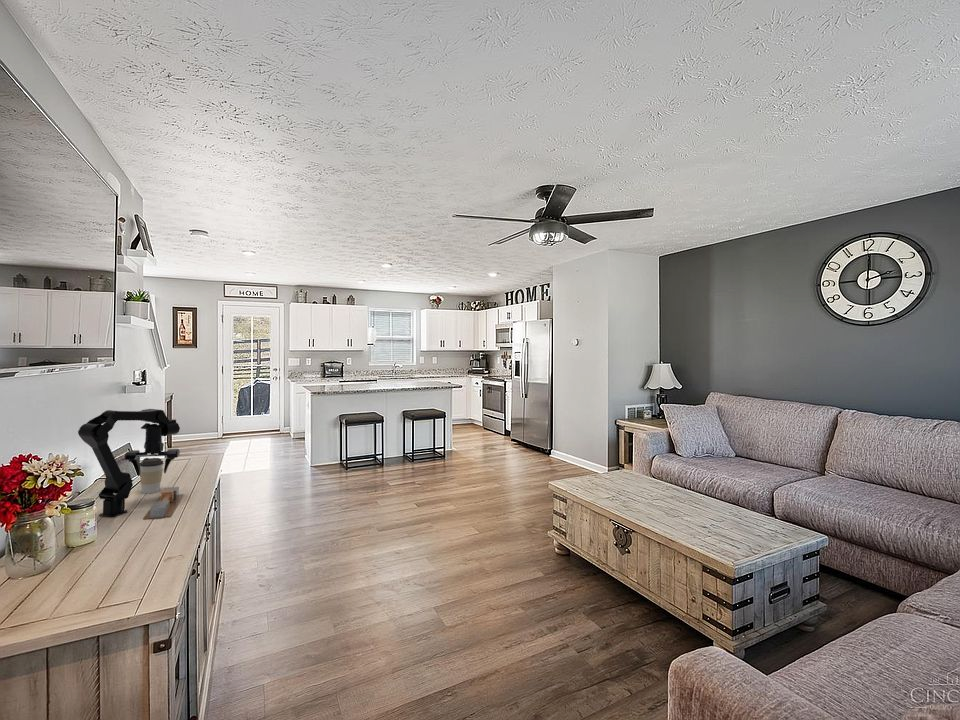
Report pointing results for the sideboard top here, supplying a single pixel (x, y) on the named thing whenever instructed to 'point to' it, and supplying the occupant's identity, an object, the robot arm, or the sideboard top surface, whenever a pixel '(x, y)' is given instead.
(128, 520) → the sideboard top surface
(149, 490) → the coffee cup
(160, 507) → the tube base
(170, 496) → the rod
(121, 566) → the sideboard top surface
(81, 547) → the sideboard top surface
